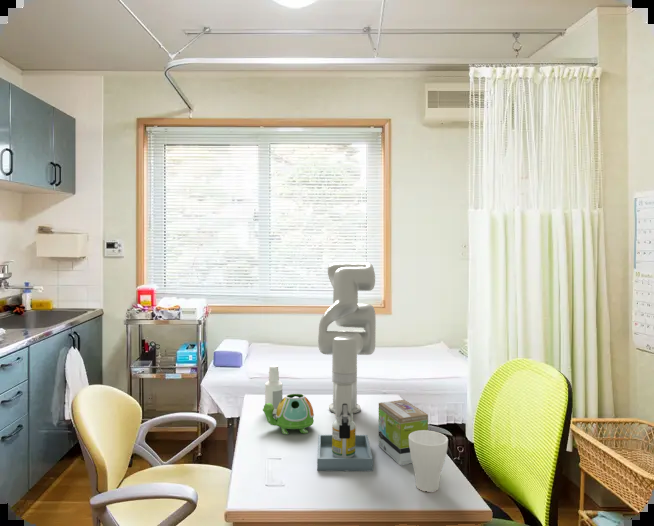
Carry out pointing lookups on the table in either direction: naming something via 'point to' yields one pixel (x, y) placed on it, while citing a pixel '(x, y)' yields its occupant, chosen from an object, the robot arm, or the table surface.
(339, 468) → the tray
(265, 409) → the turtle holder
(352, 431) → the supplement bottle
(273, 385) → the spray bottle
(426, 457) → the cup
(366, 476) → the table surface
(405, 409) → the tea box
